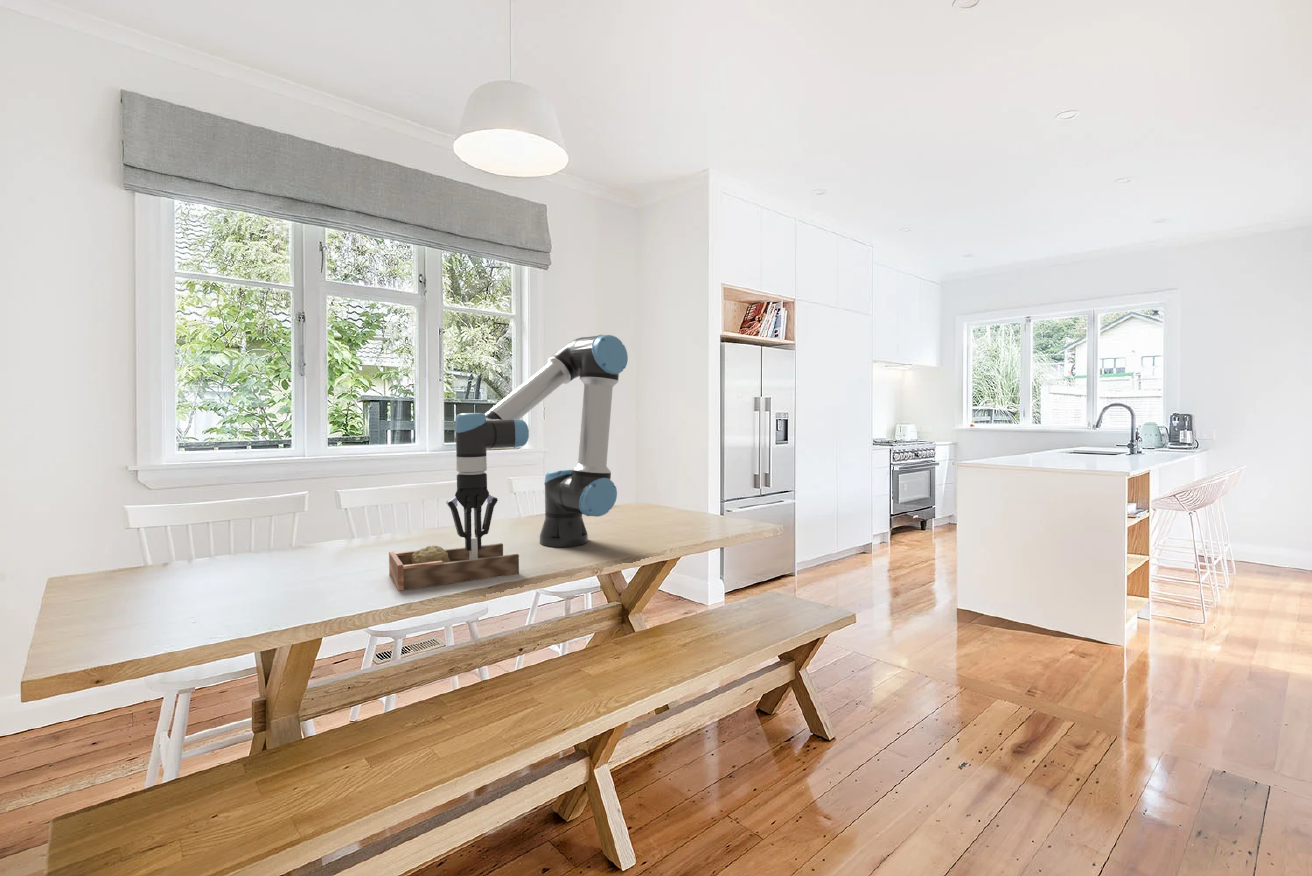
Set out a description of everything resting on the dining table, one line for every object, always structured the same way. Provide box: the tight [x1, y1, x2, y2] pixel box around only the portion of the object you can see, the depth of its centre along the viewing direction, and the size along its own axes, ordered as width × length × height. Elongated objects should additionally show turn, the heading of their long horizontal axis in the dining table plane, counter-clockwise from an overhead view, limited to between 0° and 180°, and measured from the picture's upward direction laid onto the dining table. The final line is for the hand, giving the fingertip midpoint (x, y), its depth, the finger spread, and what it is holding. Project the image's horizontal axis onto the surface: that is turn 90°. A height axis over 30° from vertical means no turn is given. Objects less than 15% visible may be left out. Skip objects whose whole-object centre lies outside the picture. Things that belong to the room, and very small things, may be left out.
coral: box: [411, 545, 450, 564], centre depth 157 cm, size 9×9×8 cm
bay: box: [388, 542, 520, 592], centre depth 160 cm, size 29×15×6 cm, turn 121°
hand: (473, 562), depth 163 cm, fingers closed
